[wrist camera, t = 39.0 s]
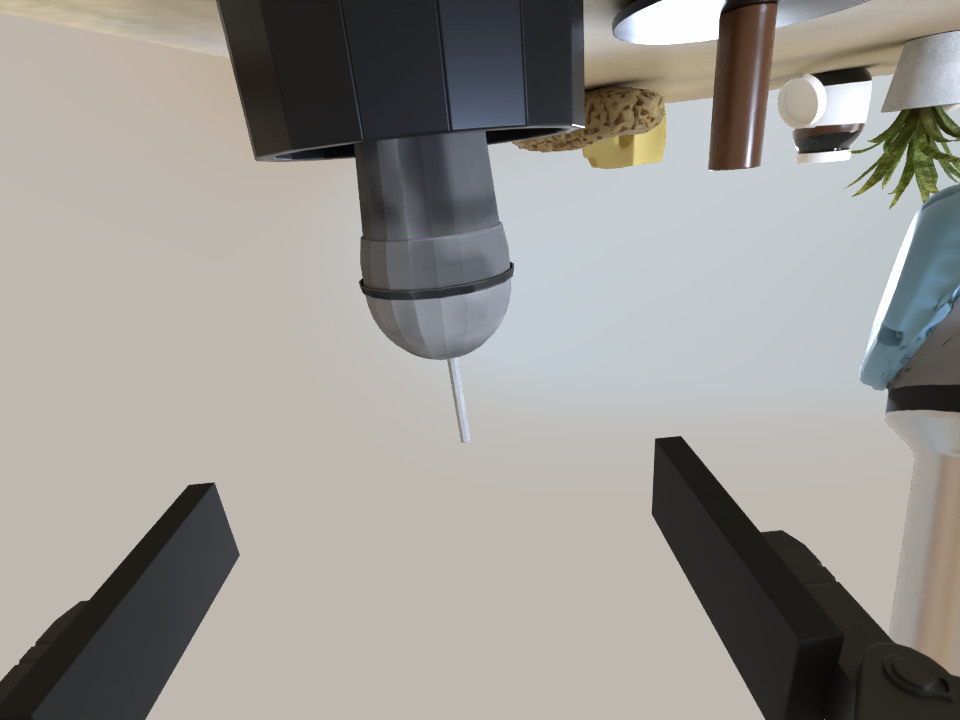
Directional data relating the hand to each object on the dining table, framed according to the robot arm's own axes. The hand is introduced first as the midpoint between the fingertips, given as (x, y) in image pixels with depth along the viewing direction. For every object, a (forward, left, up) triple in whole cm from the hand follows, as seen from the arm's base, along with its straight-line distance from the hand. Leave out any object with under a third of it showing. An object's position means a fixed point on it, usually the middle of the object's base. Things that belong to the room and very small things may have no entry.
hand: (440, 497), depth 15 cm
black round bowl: (0, +11, -17) cm, 20 cm away
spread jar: (-54, +65, -17) cm, 86 cm away
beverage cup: (0, +11, -16) cm, 20 cm away
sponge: (-18, +58, -17) cm, 63 cm away
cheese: (-30, +79, -17) cm, 86 cm away
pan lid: (-18, +19, -16) cm, 31 cm away
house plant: (-51, +43, -17) cm, 69 cm away
